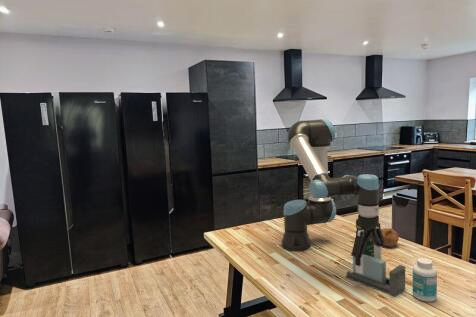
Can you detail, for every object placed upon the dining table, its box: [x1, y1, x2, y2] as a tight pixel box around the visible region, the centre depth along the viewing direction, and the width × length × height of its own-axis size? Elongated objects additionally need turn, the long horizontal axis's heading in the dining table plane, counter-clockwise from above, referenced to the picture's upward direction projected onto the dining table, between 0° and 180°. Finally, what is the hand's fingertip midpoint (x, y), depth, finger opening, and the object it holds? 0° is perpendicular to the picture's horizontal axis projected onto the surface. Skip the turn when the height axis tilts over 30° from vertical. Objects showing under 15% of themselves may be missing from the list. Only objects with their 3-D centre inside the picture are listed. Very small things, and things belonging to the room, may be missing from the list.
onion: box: [380, 227, 400, 248], centre depth 158 cm, size 10×9×10 cm
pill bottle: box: [412, 257, 438, 303], centre depth 112 cm, size 8×7×14 cm
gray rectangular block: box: [352, 254, 387, 284], centre depth 125 cm, size 12×3×9 cm, turn 38°
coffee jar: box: [355, 218, 376, 257], centre depth 148 cm, size 10×8×19 cm
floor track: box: [345, 264, 406, 297], centre depth 124 cm, size 20×8×9 cm, turn 38°
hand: (368, 267), depth 125 cm, fingers open, 13 cm apart
